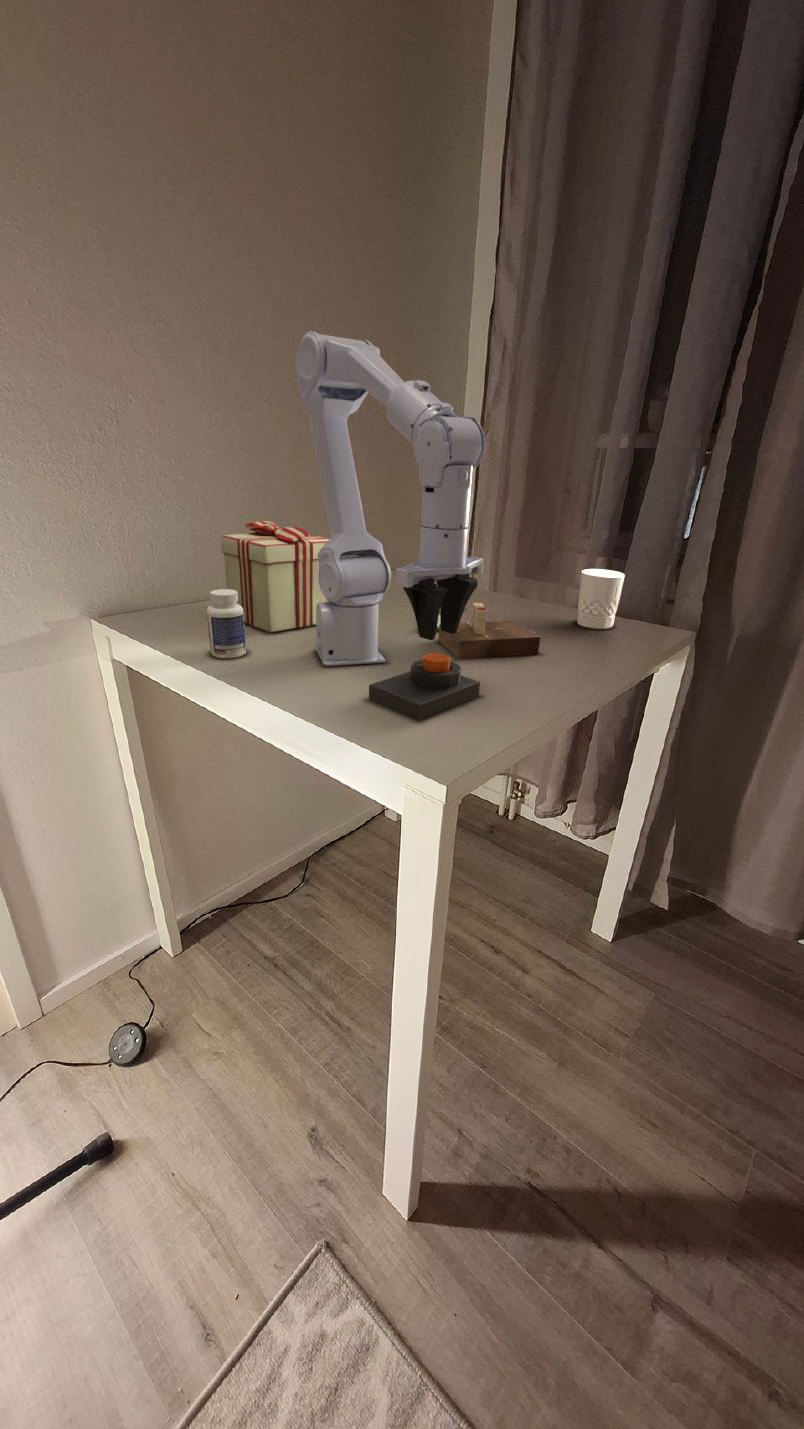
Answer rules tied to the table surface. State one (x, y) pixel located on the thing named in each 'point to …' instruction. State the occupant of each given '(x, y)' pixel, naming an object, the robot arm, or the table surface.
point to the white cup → (599, 597)
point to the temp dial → (478, 619)
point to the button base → (424, 691)
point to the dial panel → (491, 640)
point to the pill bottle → (226, 624)
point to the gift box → (274, 575)
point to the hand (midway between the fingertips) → (437, 635)
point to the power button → (436, 662)
